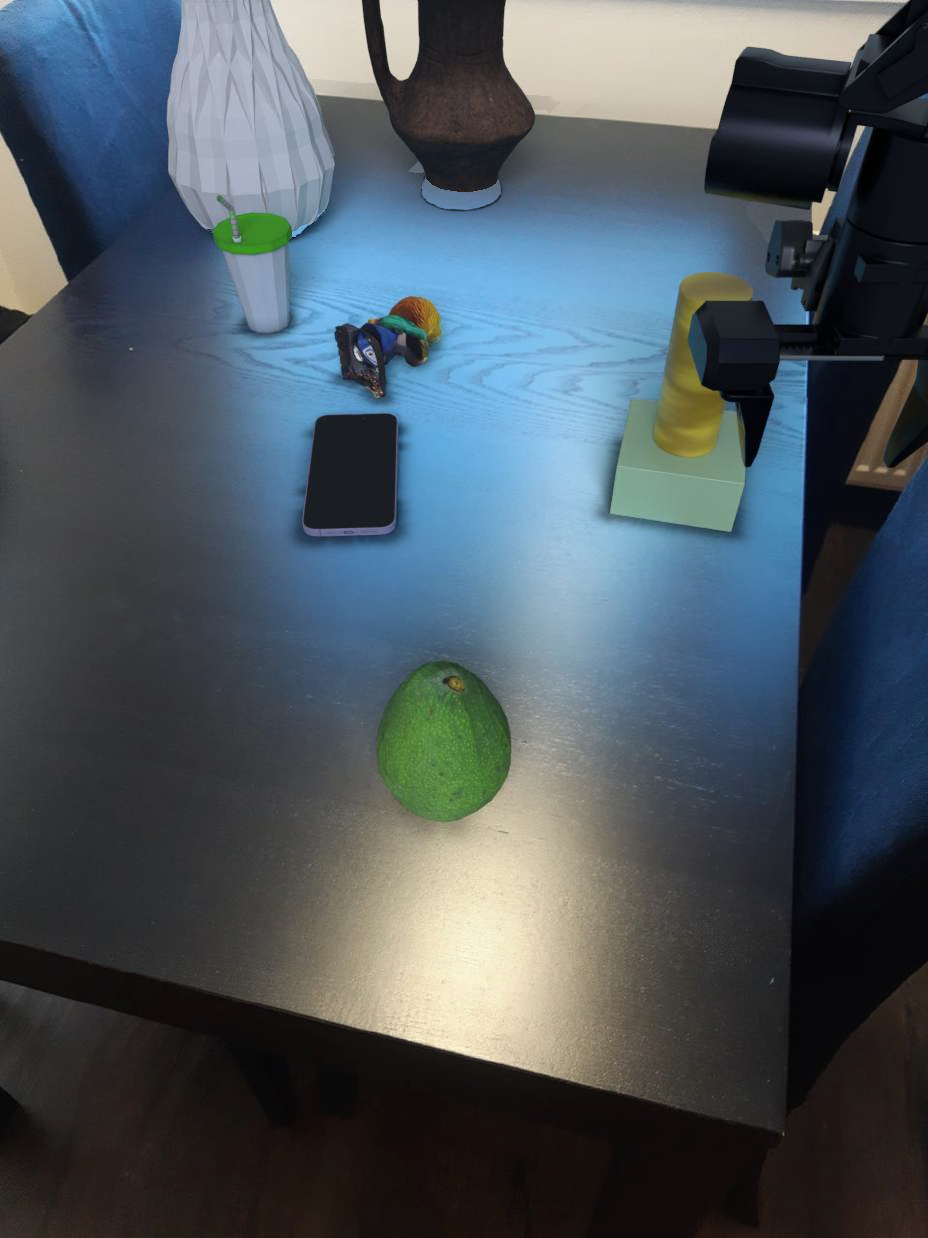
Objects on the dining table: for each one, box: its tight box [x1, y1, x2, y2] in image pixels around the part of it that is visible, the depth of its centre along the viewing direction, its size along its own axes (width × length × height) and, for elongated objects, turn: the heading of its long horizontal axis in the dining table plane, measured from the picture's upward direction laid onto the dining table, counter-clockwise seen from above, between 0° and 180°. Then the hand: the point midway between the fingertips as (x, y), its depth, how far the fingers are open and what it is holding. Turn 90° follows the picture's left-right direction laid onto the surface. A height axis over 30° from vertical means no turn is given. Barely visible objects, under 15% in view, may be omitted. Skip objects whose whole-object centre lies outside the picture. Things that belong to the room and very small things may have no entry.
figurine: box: [333, 295, 443, 399], centre depth 88 cm, size 11×8×6 cm, turn 128°
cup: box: [211, 195, 292, 335], centre depth 91 cm, size 8×8×15 cm
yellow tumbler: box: [653, 271, 754, 457], centre depth 68 cm, size 5×5×13 cm
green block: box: [609, 397, 747, 533], centre depth 75 cm, size 10×10×5 cm
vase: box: [166, 0, 336, 232], centre depth 102 cm, size 20×20×30 cm
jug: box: [361, 0, 536, 192], centre depth 109 cm, size 21×18×30 cm
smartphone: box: [301, 412, 399, 537], centre depth 77 cm, size 8×1×16 cm
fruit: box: [375, 660, 512, 823], centre depth 51 cm, size 8×8×12 cm
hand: (816, 463), depth 57 cm, fingers open, 9 cm apart
